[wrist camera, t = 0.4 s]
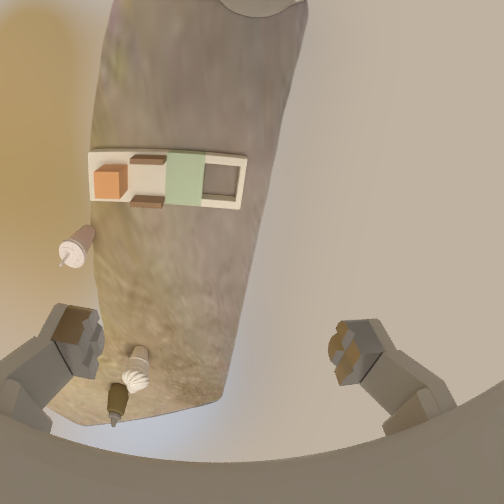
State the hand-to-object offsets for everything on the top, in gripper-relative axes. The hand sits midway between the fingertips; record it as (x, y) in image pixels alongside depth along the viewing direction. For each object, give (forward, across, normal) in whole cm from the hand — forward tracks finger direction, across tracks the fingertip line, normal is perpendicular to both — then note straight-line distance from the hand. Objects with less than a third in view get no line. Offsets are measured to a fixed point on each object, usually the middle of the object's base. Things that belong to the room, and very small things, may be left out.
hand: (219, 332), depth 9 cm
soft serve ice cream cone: (+46, +19, +62) cm, 80 cm away
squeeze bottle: (+46, +32, +89) cm, 106 cm away
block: (+43, +19, +8) cm, 48 cm away
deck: (+46, +10, +8) cm, 48 cm away
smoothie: (+46, +28, +22) cm, 58 cm away
